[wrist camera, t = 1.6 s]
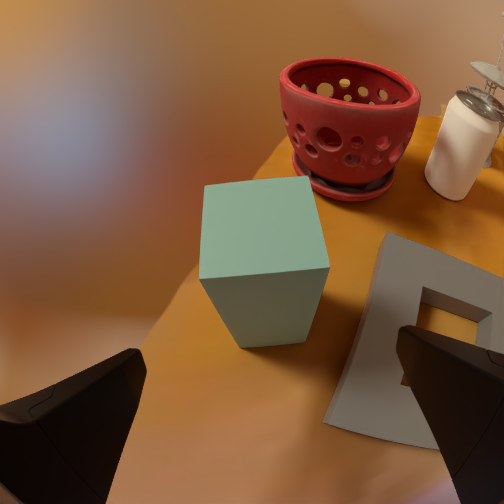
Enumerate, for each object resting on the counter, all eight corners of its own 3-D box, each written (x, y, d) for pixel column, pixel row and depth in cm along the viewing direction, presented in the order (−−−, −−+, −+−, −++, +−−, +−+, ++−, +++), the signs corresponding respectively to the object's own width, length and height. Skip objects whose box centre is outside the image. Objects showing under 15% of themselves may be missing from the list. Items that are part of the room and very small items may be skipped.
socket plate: (479, 453, 12) (495, 454, 10) (321, 422, 17) (327, 423, 15) (505, 296, 20) (518, 286, 17) (379, 247, 24) (387, 231, 22)
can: (455, 169, 29) (485, 97, 19) (472, 205, 26) (513, 129, 16) (416, 162, 30) (442, 82, 20) (432, 199, 27) (470, 113, 17)
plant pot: (384, 143, 32) (401, 63, 22) (402, 220, 26) (443, 123, 15) (287, 133, 34) (284, 49, 24) (276, 208, 28) (271, 99, 18)
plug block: (305, 342, 21) (330, 267, 10) (239, 347, 21) (198, 279, 11) (297, 284, 23) (308, 175, 13) (237, 289, 23) (204, 185, 13)
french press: (436, 141, 32) (472, -9, 11) (450, 119, 36) (478, -1, 15) (488, 177, 28) (544, 32, 7) (494, 148, 32) (534, 31, 11)
